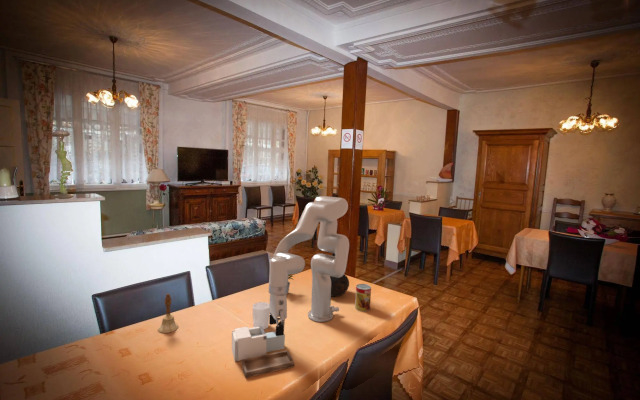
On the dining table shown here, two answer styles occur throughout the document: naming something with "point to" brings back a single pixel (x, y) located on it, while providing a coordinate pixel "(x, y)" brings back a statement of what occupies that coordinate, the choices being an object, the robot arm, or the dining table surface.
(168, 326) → the hand bell
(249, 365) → the tray
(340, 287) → the black round vase
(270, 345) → the white rectangular block
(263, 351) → the dispenser
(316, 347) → the dining table surface
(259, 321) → the white cup
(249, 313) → the dining table surface
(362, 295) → the canned food
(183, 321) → the dining table surface
